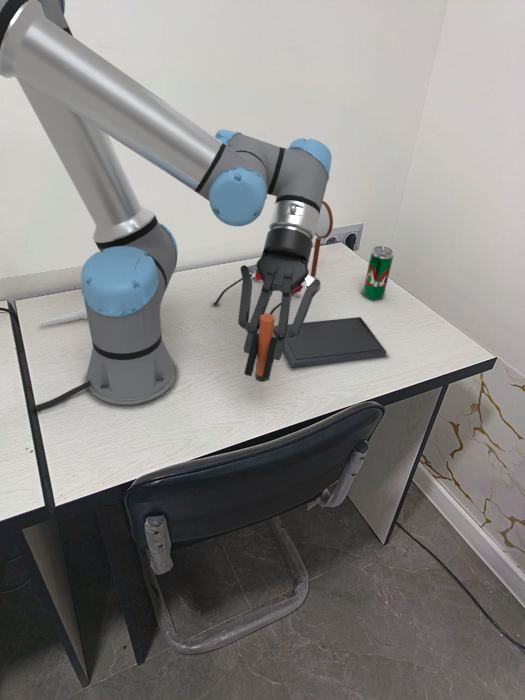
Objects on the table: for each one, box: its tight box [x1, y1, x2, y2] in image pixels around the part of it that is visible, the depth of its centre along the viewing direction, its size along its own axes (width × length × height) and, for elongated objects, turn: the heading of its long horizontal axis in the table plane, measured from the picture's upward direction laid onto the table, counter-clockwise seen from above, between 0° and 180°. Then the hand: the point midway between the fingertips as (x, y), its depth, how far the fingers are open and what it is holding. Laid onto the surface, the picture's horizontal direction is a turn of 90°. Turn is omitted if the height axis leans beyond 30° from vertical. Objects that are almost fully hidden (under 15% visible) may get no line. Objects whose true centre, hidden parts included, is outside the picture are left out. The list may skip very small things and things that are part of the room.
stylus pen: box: [39, 306, 88, 326], centre depth 103 cm, size 15×3×2 cm, turn 121°
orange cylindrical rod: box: [254, 313, 275, 383], centre depth 78 cm, size 2×2×12 cm
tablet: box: [273, 316, 388, 369], centre depth 103 cm, size 20×13×1 cm, turn 105°
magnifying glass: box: [310, 200, 334, 279], centre depth 119 cm, size 9×2×20 cm, turn 27°
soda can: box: [362, 245, 394, 301], centre depth 116 cm, size 5×5×12 cm
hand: (256, 376), depth 77 cm, fingers closed on orange cylindrical rod, 2 cm apart
